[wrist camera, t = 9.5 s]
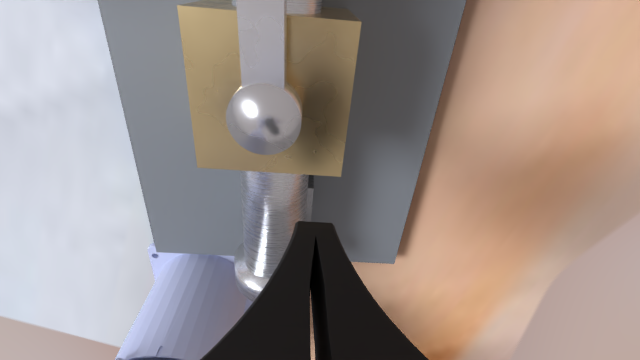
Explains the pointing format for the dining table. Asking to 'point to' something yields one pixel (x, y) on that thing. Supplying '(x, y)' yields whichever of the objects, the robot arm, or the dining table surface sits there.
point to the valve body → (316, 127)
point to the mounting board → (329, 191)
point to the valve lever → (263, 81)
